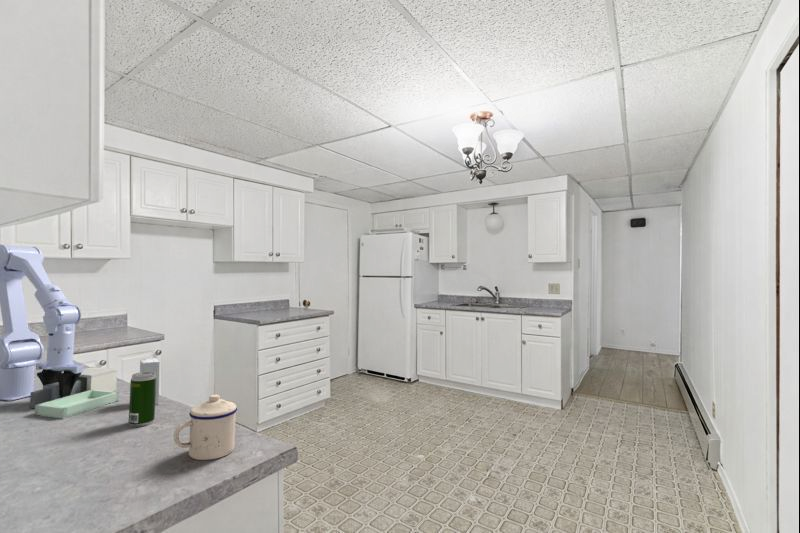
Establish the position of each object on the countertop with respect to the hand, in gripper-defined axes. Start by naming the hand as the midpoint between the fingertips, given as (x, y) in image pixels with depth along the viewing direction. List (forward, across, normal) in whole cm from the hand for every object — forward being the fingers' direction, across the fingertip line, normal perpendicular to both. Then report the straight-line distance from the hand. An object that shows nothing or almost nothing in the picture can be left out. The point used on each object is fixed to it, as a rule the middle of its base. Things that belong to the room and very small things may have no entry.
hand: (58, 396), depth 111 cm
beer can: (+2, +35, -6) cm, 36 cm away
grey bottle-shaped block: (+1, 0, -1) cm, 2 cm away
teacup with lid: (+2, +61, -16) cm, 63 cm away
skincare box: (+2, +24, +6) cm, 25 cm away
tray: (+1, +10, -2) cm, 10 cm away
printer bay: (+1, 0, +10) cm, 10 cm away
